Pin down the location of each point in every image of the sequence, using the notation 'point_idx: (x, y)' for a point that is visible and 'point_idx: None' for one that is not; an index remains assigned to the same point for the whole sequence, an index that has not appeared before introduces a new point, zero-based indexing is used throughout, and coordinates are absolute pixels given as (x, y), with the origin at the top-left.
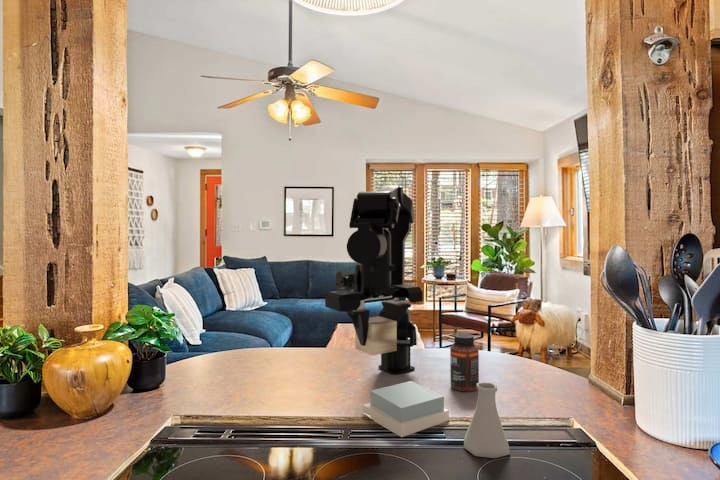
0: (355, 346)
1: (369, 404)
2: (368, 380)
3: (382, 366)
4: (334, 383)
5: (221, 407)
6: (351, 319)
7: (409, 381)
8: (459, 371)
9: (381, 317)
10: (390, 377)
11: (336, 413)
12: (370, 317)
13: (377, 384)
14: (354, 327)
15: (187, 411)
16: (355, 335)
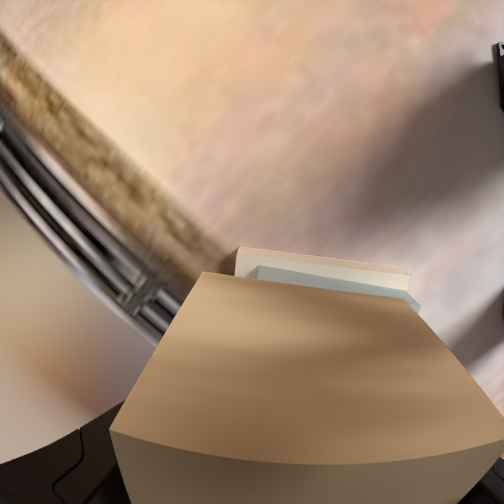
0: (199, 277)
1: (252, 266)
2: (430, 69)
3: (501, 61)
4: (333, 9)
5: (36, 14)
6: (11, 470)
7: (413, 307)
8: None
9: (459, 491)
10: (485, 109)
11: (186, 188)
12: (404, 466)
13: (430, 111)
14: (80, 428)
15: (3, 15)
16: (176, 316)
